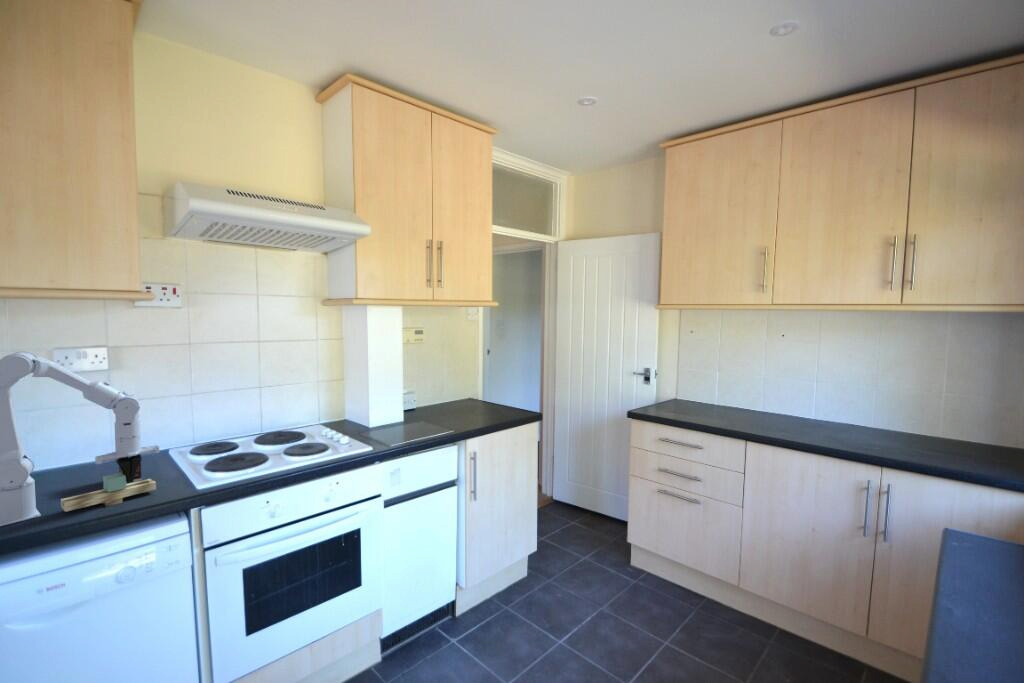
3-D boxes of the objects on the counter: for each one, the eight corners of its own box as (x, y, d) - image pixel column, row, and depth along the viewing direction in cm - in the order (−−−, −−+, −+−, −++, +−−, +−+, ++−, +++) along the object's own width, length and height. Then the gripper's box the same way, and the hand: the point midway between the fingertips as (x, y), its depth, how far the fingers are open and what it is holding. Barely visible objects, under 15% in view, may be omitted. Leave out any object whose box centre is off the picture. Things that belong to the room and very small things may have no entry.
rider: (108, 496, 130) (107, 479, 130) (103, 492, 133) (103, 476, 132) (126, 492, 133) (125, 476, 133) (121, 488, 136) (120, 472, 136)
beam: (66, 516, 122) (65, 504, 122) (60, 510, 126) (60, 498, 126) (157, 493, 139) (156, 482, 138) (149, 488, 142) (149, 477, 142)
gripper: (99, 444, 127) (101, 492, 127) (162, 433, 138) (163, 477, 139) (92, 440, 131) (94, 486, 131) (154, 430, 142) (155, 472, 143)
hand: (129, 481), depth 136 cm, fingers closed
